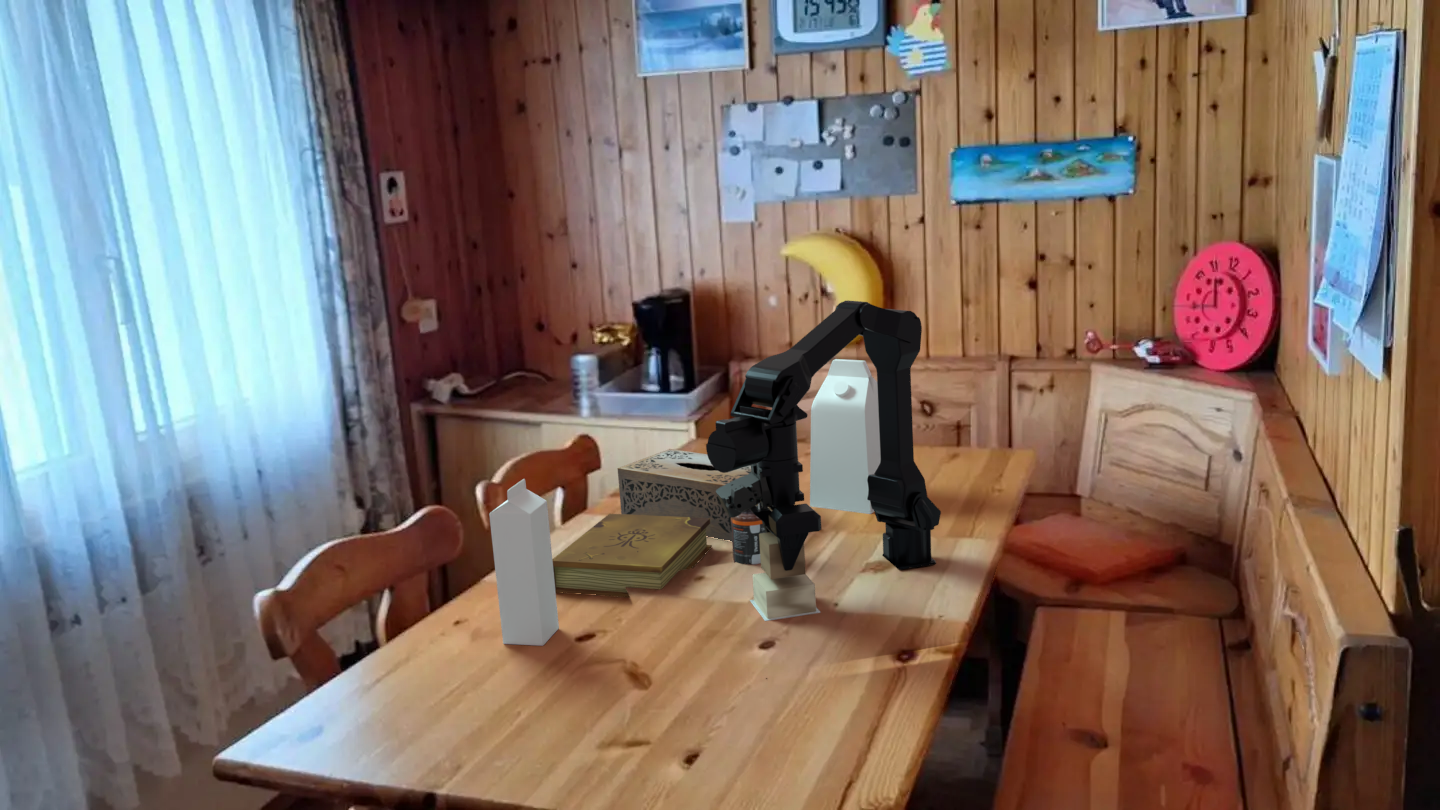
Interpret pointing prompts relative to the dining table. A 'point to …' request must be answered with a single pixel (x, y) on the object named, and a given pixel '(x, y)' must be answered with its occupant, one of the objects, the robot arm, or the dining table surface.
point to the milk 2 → (844, 438)
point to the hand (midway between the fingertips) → (782, 563)
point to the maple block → (784, 595)
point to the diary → (630, 554)
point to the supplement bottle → (746, 538)
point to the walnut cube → (777, 558)
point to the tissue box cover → (677, 488)
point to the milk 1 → (524, 568)
